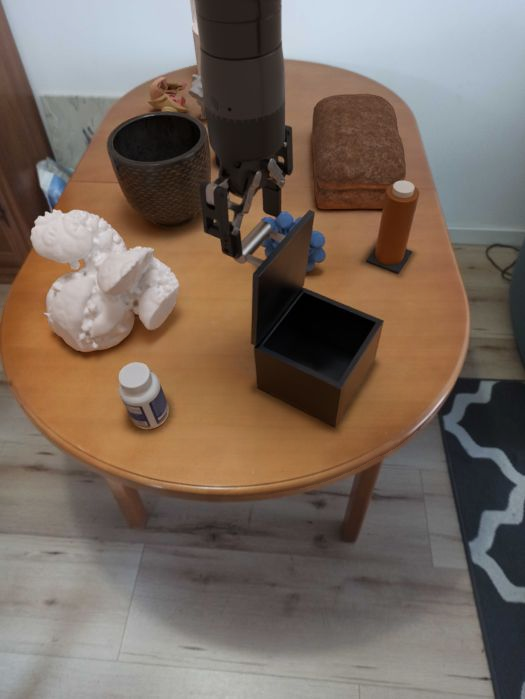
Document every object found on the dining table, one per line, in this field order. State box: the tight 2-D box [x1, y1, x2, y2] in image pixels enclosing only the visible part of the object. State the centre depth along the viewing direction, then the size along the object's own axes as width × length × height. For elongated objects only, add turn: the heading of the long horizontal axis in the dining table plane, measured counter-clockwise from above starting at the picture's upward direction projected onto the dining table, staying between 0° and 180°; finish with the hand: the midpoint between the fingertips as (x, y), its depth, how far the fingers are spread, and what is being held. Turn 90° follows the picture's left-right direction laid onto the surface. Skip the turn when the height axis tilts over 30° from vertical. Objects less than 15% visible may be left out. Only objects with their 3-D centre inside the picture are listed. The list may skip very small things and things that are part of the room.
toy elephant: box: [146, 76, 189, 113], centre depth 119 cm, size 9×10×10 cm
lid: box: [233, 209, 316, 346], centre depth 63 cm, size 13×13×6 cm
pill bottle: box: [117, 361, 170, 430], centre depth 67 cm, size 5×5×10 cm
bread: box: [311, 93, 407, 210], centre depth 101 cm, size 17×29×11 cm, turn 178°
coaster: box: [365, 246, 413, 275], centre depth 88 cm, size 6×6×1 cm
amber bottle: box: [374, 179, 420, 265], centre depth 83 cm, size 5×5×14 cm
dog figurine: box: [187, 73, 206, 120], centre depth 116 cm, size 5×13×11 cm, turn 144°
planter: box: [106, 111, 212, 229], centre depth 92 cm, size 17×17×16 cm
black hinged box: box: [253, 286, 385, 429], centre depth 70 cm, size 13×13×10 cm
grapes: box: [260, 210, 327, 272], centre depth 82 cm, size 12×7×12 cm, turn 80°
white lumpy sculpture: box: [29, 208, 180, 353], centre depth 78 cm, size 19×20×20 cm
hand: (253, 233), depth 59 cm, fingers open, 8 cm apart
